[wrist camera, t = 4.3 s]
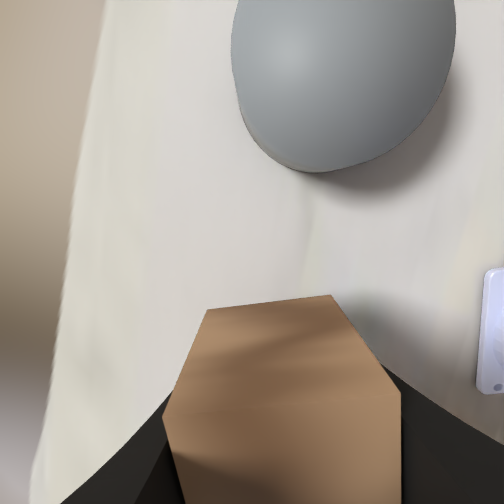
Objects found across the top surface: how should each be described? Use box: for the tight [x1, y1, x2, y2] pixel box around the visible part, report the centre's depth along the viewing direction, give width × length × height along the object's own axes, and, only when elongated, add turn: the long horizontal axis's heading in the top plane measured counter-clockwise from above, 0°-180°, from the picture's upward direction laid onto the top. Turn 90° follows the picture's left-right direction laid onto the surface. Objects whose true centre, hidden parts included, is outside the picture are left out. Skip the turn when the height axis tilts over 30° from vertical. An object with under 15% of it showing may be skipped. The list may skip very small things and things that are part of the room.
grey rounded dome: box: [231, 0, 456, 173], centre depth 11 cm, size 8×8×3 cm
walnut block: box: [162, 295, 401, 504], centre depth 8 cm, size 5×5×5 cm
